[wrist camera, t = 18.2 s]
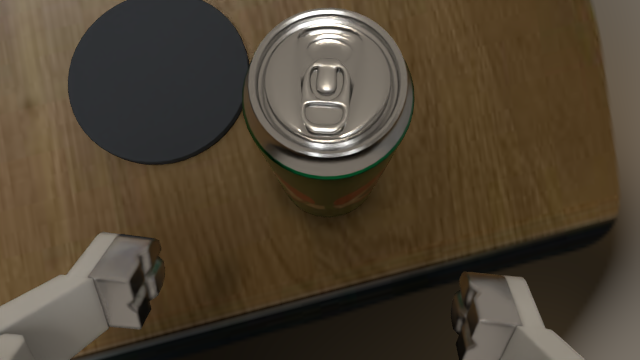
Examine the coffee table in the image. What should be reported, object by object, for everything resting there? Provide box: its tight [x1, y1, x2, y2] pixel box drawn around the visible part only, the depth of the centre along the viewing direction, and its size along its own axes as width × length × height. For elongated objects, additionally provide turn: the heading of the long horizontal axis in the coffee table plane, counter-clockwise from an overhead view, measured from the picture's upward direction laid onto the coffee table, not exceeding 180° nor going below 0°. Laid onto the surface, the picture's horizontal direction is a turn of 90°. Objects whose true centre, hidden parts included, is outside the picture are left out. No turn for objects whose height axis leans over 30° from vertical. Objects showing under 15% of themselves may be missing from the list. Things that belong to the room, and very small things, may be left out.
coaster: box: [68, 0, 249, 165], centre depth 24 cm, size 10×10×1 cm
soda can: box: [242, 8, 414, 217], centre depth 18 cm, size 5×5×12 cm
